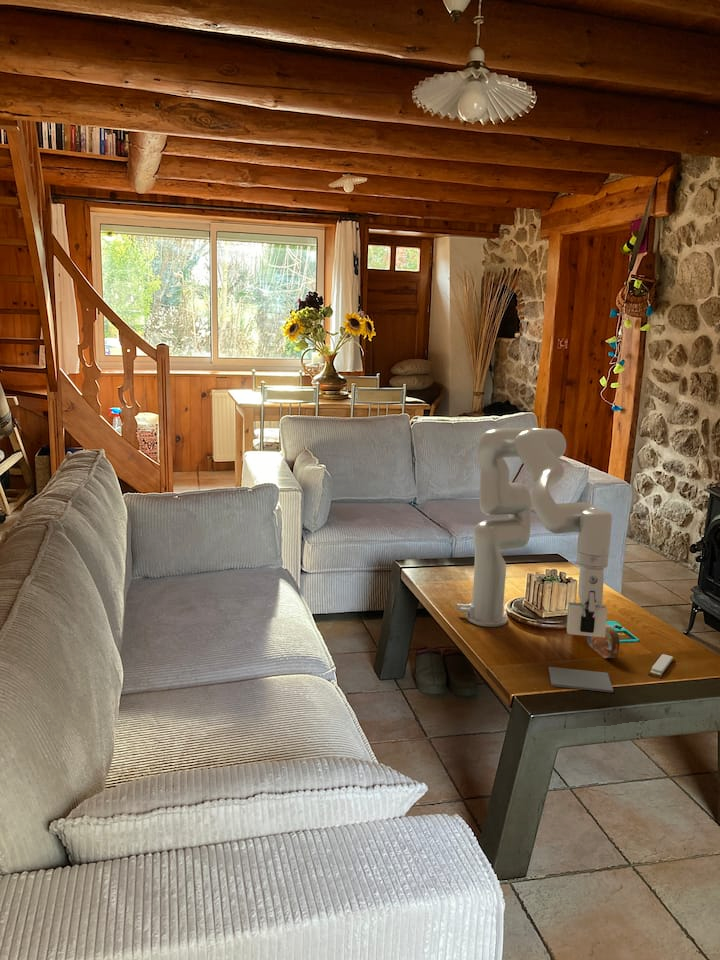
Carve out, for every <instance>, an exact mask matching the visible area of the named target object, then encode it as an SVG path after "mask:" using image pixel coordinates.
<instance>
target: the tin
mask: <svg viewBox="0 0 720 960" xmlns="http://www.w3.org/2000/svg"><path fill="white" fill-rule="evenodd" d="M619 636H620V635H619V634H618V633H617V632H616V630H615V629H613V628H612V627H611V626H609V625H608V624H607V623H606V631H605V637H595V636H585V639H586V643H587V644H588V646H589V647H590V648H591V649H592V650H593V651H595V652H596V653H597V654H598V655H599V656H600V657H601V658H603V659H614V658H617V656H618V654H619V650H620V644H621V643H620V640H619V639H620V637H619Z"/></svg>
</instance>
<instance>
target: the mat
mask: <svg viewBox="0 0 720 960" xmlns="http://www.w3.org/2000/svg"><path fill="white" fill-rule="evenodd" d="M548 673H549V679H550V685H551V687H557V688H558V687H559V688H569V689H577V690H578V689H579V690H586V691H587V690H588V691H597V692H603V693H604V692H605V693H614V688H613V686H612V682H611V679H610V676H609V673H608V672H604V671H602V672H601V671H594V670H593V671H592V670H583V669H573V668H565V667H564V668H563V667H556V666H555V667H554V666H548Z"/></svg>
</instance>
